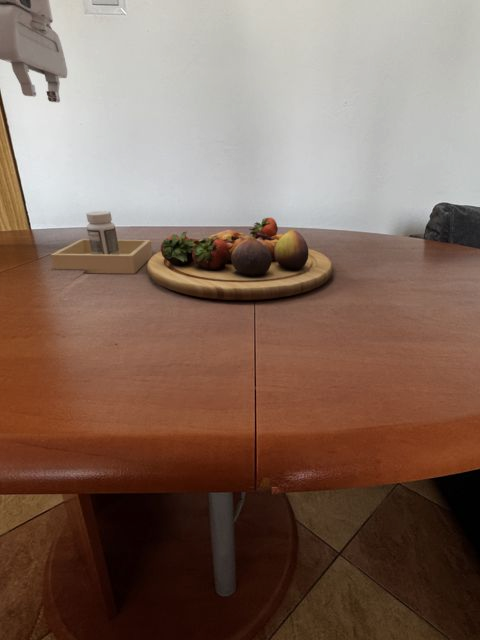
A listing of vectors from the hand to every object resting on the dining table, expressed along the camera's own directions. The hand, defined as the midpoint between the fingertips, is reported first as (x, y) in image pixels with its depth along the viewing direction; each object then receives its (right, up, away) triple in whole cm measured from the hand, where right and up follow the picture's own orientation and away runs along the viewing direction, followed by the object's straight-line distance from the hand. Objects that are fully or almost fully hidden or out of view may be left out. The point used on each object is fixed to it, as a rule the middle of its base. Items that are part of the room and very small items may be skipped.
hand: (42, 99), depth 73 cm
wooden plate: (+39, -35, -6) cm, 52 cm away
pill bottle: (+14, -32, -3) cm, 35 cm away
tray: (+14, -33, -3) cm, 35 cm away
